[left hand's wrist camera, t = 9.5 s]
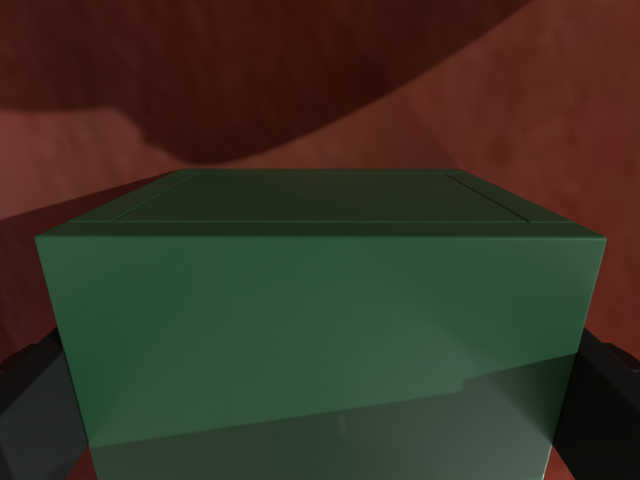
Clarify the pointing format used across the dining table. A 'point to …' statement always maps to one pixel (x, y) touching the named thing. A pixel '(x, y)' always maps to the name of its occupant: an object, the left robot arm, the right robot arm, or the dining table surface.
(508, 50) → the dining table surface
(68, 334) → the green rectangular box
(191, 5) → the dining table surface
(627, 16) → the dining table surface
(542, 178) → the dining table surface
